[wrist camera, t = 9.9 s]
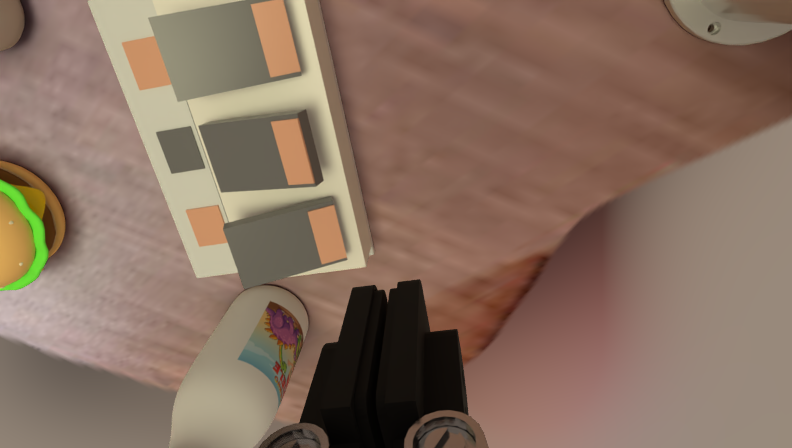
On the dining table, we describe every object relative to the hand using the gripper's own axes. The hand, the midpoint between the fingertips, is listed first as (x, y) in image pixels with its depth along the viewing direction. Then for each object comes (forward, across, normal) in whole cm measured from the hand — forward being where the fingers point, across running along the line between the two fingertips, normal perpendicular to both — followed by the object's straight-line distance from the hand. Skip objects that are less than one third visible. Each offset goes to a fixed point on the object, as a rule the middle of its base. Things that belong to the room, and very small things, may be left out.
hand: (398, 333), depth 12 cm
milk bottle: (+29, +18, +18) cm, 38 cm away
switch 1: (+22, +11, -7) cm, 26 cm away
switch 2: (+22, +11, +7) cm, 26 cm away
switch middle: (+22, +11, 0) cm, 25 cm away
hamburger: (+29, +38, +3) cm, 48 cm away
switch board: (+29, +14, 0) cm, 33 cm away
